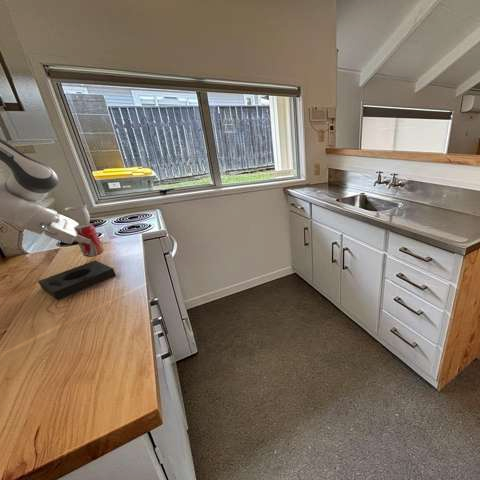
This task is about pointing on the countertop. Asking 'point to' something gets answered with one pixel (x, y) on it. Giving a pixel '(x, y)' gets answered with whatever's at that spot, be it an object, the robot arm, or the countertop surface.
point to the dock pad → (76, 279)
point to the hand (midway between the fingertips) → (90, 239)
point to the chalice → (79, 214)
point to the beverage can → (95, 244)
